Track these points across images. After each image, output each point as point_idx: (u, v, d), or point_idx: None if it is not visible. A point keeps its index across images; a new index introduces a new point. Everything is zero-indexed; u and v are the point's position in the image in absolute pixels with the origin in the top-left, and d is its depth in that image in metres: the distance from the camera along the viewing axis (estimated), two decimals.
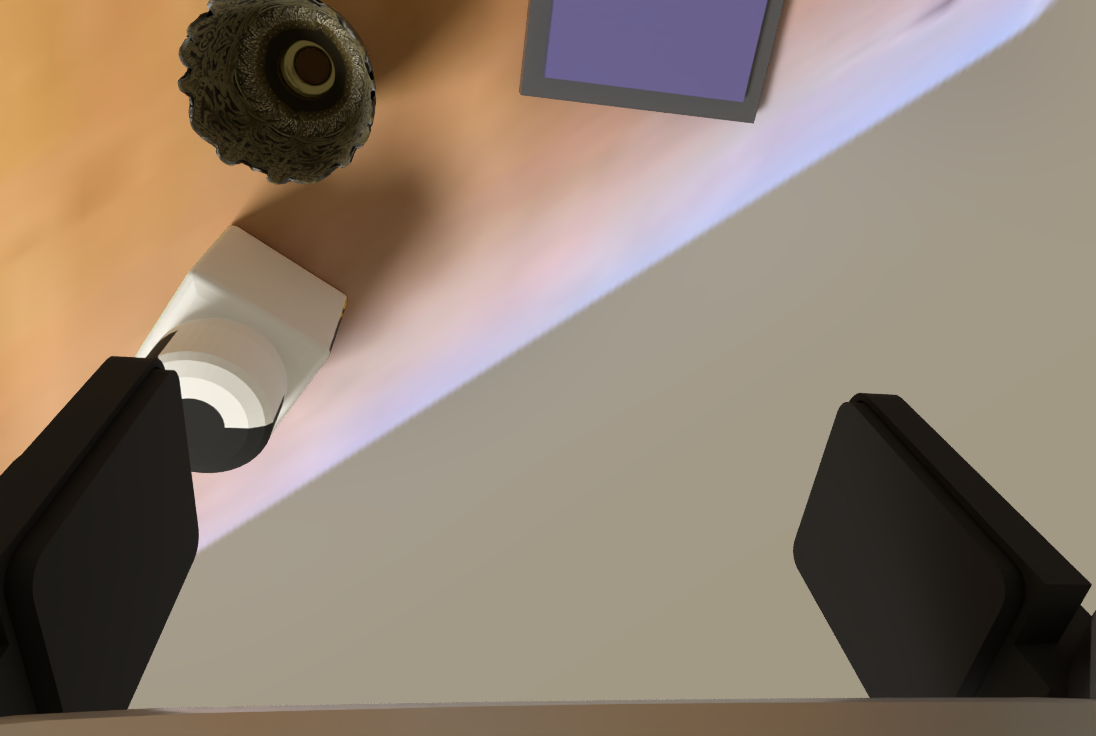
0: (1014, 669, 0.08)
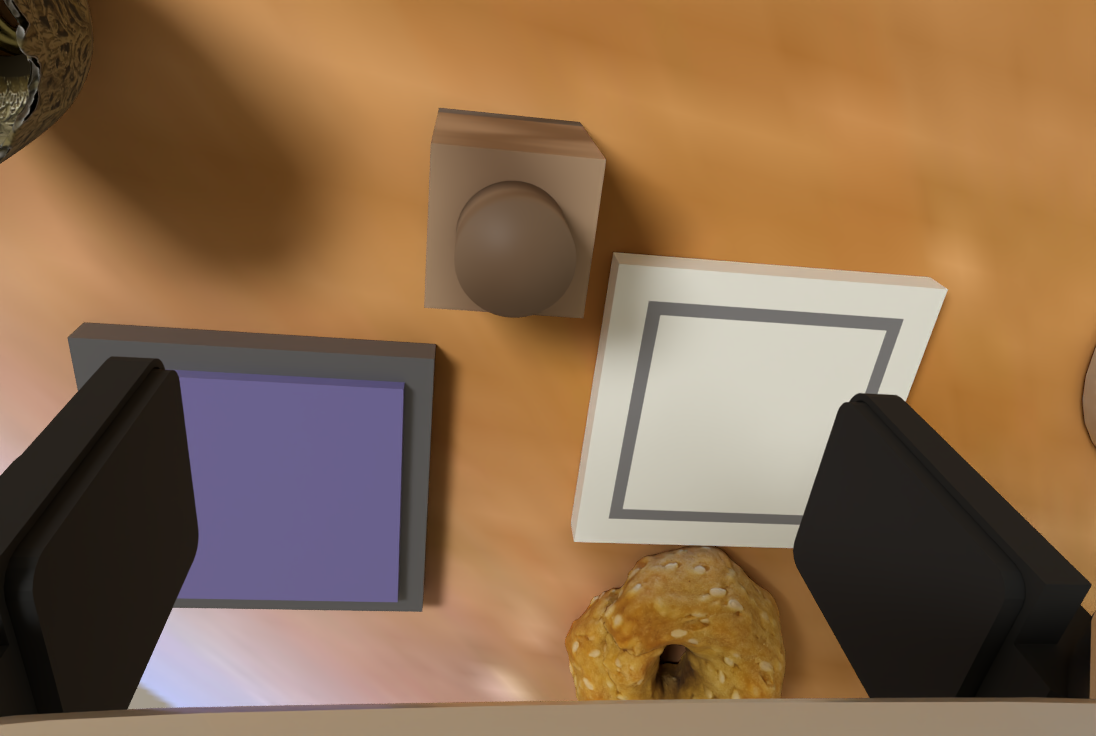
0: (1014, 669, 0.08)
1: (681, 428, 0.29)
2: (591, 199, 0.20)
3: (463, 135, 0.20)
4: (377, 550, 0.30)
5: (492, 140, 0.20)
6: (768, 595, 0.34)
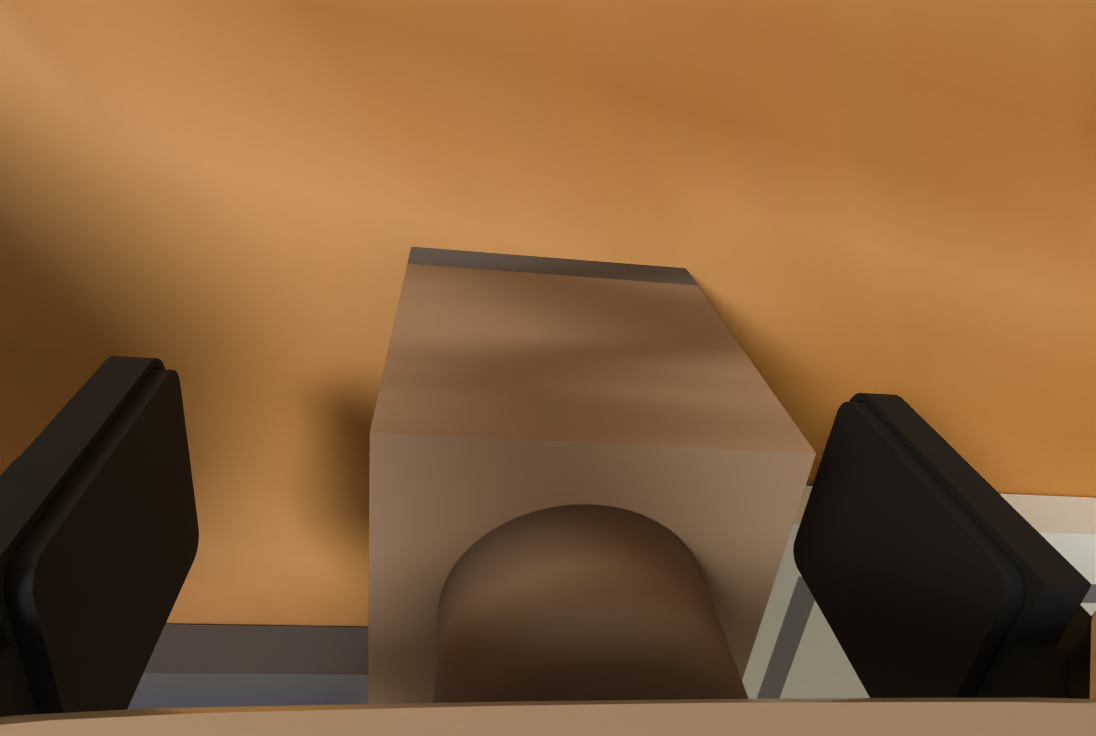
0: (1014, 669, 0.08)
1: None
2: (768, 534, 0.08)
3: (457, 370, 0.09)
4: None
5: (526, 385, 0.08)
6: None
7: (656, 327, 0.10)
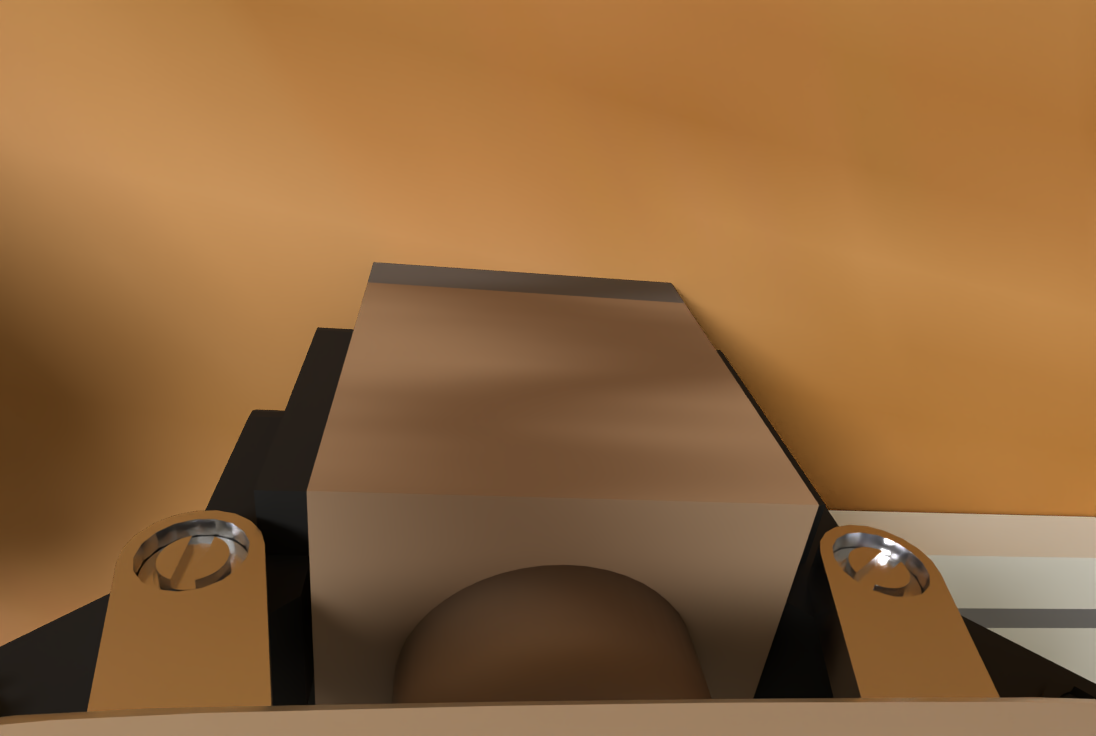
0: None
1: None
2: (765, 593, 0.07)
3: (414, 410, 0.08)
4: None
5: (492, 426, 0.07)
6: None
7: (639, 353, 0.09)
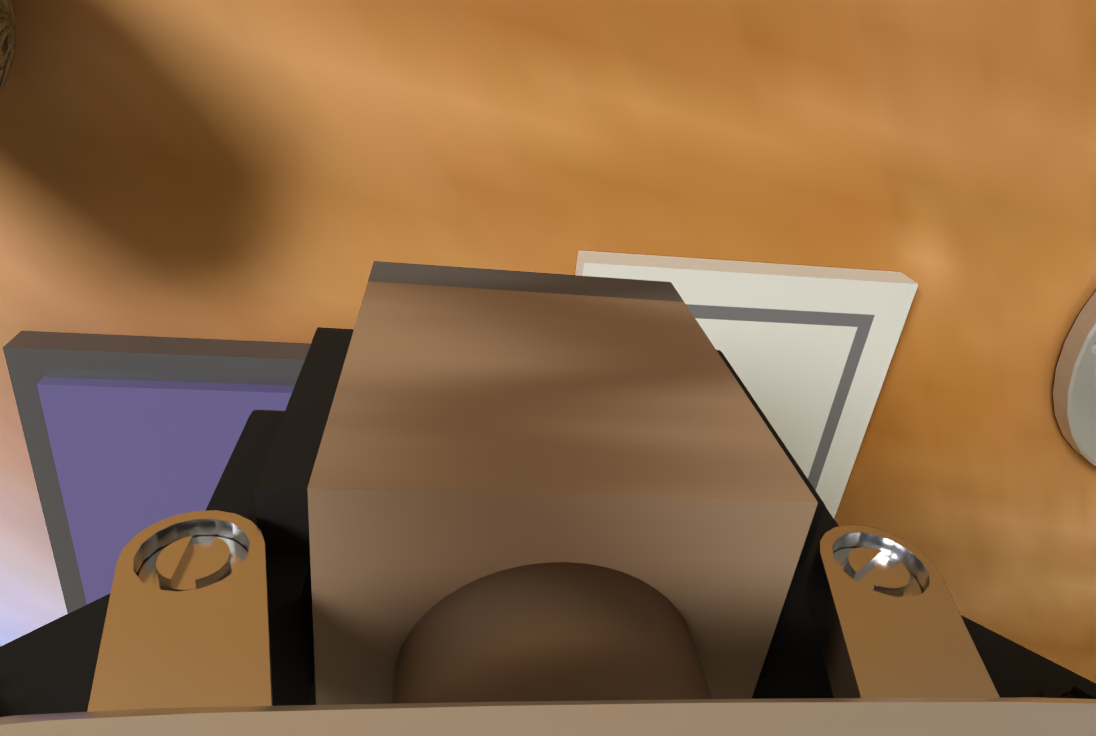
0: None
1: None
2: (765, 590, 0.07)
3: (414, 408, 0.08)
4: None
5: (492, 424, 0.07)
6: None
7: (639, 351, 0.09)
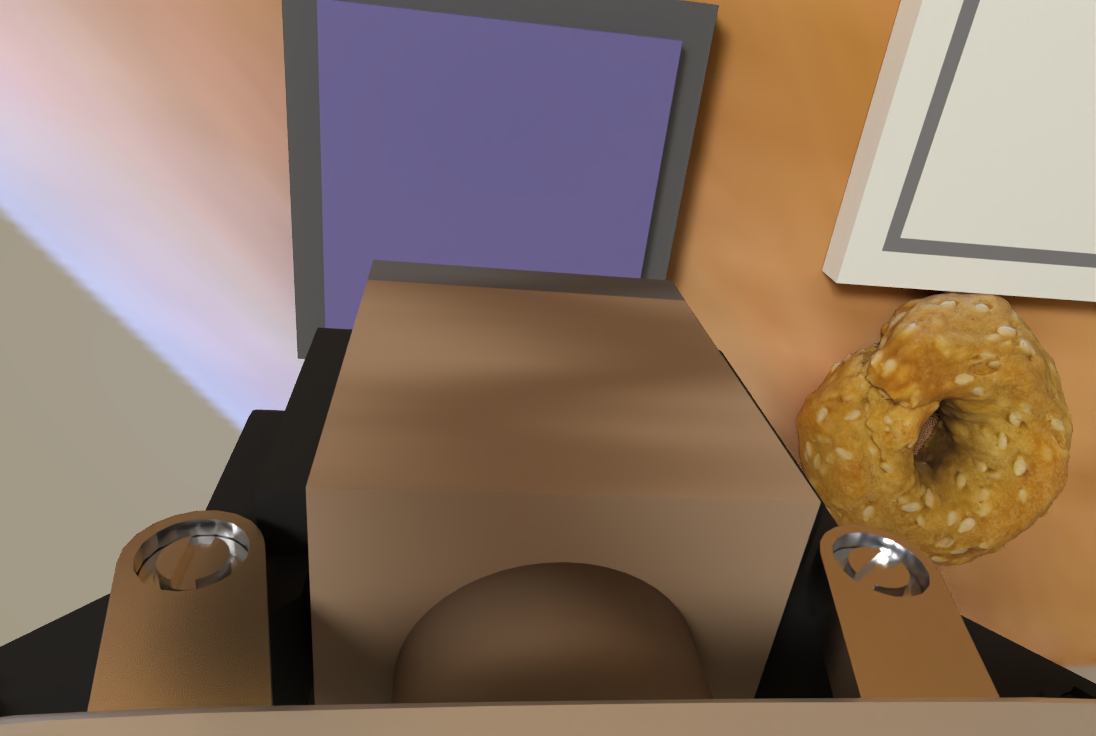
0: None
1: (989, 122, 0.24)
2: (767, 590, 0.07)
3: (414, 406, 0.08)
4: None
5: (493, 423, 0.07)
6: None
7: (640, 350, 0.09)
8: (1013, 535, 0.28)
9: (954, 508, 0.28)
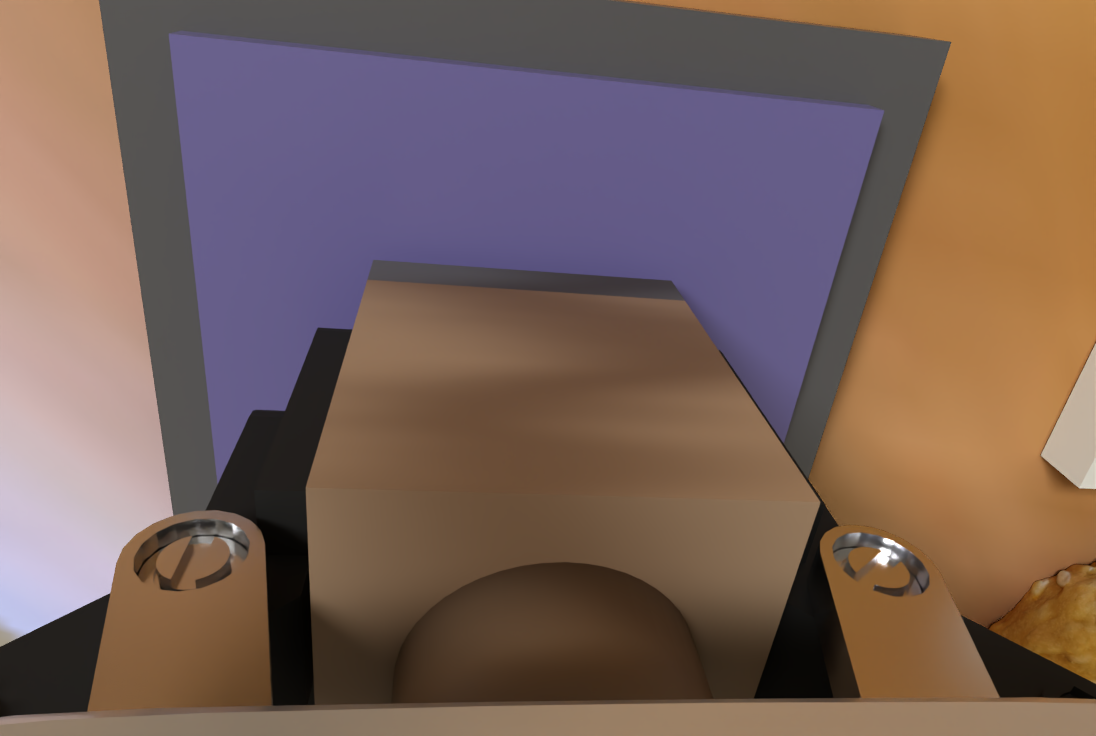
0: None
1: None
2: (767, 590, 0.07)
3: (414, 406, 0.08)
4: None
5: (492, 423, 0.07)
6: None
7: (640, 350, 0.09)
8: None
9: None
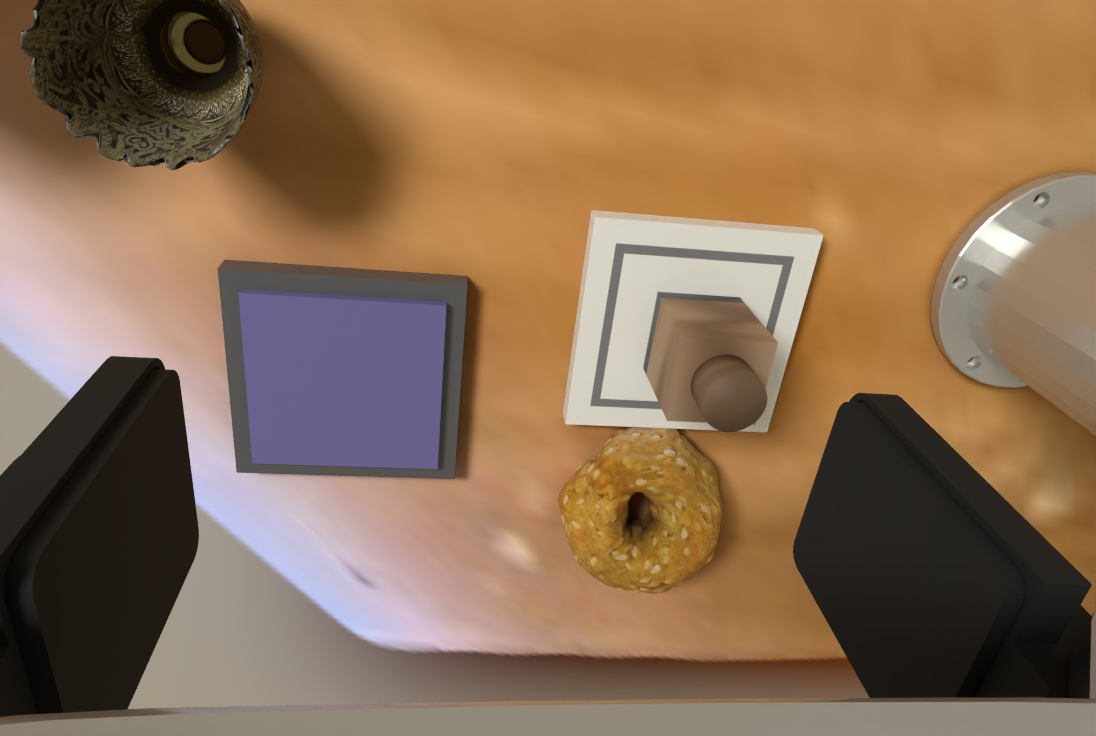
0: (1014, 669, 0.08)
1: (641, 337, 0.41)
2: (767, 362, 0.36)
3: (694, 325, 0.36)
4: (424, 427, 0.41)
5: (711, 329, 0.36)
6: (708, 460, 0.45)
7: (736, 315, 0.38)
8: (685, 575, 0.45)
9: (648, 558, 0.45)
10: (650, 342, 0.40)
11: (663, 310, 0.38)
